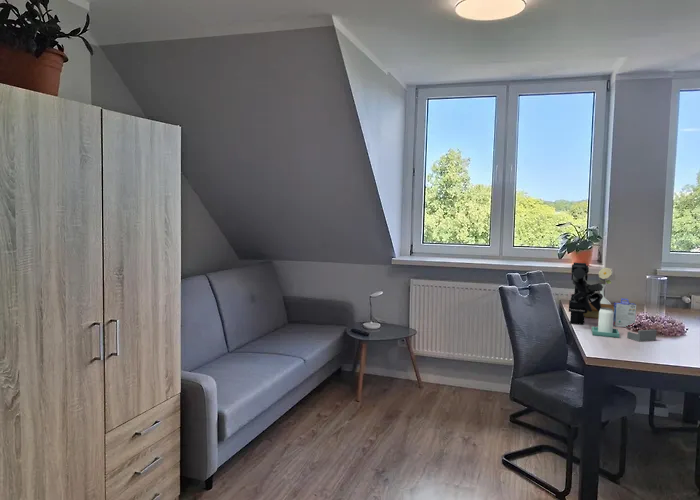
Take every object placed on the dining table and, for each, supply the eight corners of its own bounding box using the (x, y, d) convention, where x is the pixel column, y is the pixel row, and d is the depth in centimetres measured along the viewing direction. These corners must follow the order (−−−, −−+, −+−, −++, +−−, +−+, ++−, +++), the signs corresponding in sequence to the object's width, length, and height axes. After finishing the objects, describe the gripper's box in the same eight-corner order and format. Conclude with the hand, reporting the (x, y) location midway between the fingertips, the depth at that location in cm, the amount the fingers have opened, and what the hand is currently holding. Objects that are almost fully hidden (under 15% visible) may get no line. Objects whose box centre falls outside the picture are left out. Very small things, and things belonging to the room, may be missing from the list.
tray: (592, 335, 260) (592, 331, 260) (591, 330, 271) (591, 326, 271) (619, 338, 256) (619, 334, 256) (617, 332, 267) (617, 329, 266)
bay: (627, 337, 257) (627, 327, 256) (643, 336, 260) (644, 326, 259) (639, 341, 250) (639, 331, 250) (655, 340, 253) (656, 329, 253)
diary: (582, 311, 325) (583, 302, 324) (616, 314, 317) (617, 305, 317) (582, 318, 304) (582, 308, 303) (619, 321, 296) (619, 311, 296)
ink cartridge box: (632, 325, 284) (634, 298, 283) (635, 328, 279) (637, 300, 278) (612, 324, 286) (613, 297, 285) (615, 326, 281) (616, 299, 280)
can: (611, 331, 266) (612, 307, 265) (613, 334, 260) (614, 310, 259) (597, 330, 268) (598, 306, 267) (598, 333, 262) (600, 309, 261)
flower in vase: (587, 304, 345) (589, 266, 343) (602, 304, 348) (605, 265, 346) (601, 308, 332) (603, 268, 330) (617, 308, 335) (619, 268, 333)
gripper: (584, 275, 268) (599, 303, 261) (603, 278, 279) (619, 304, 272) (566, 287, 276) (581, 314, 268) (586, 289, 287) (600, 315, 279)
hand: (596, 311), depth 271 cm, fingers open, 9 cm apart
